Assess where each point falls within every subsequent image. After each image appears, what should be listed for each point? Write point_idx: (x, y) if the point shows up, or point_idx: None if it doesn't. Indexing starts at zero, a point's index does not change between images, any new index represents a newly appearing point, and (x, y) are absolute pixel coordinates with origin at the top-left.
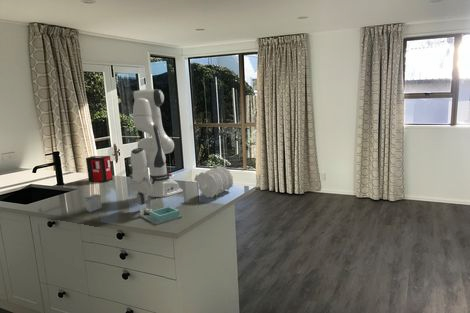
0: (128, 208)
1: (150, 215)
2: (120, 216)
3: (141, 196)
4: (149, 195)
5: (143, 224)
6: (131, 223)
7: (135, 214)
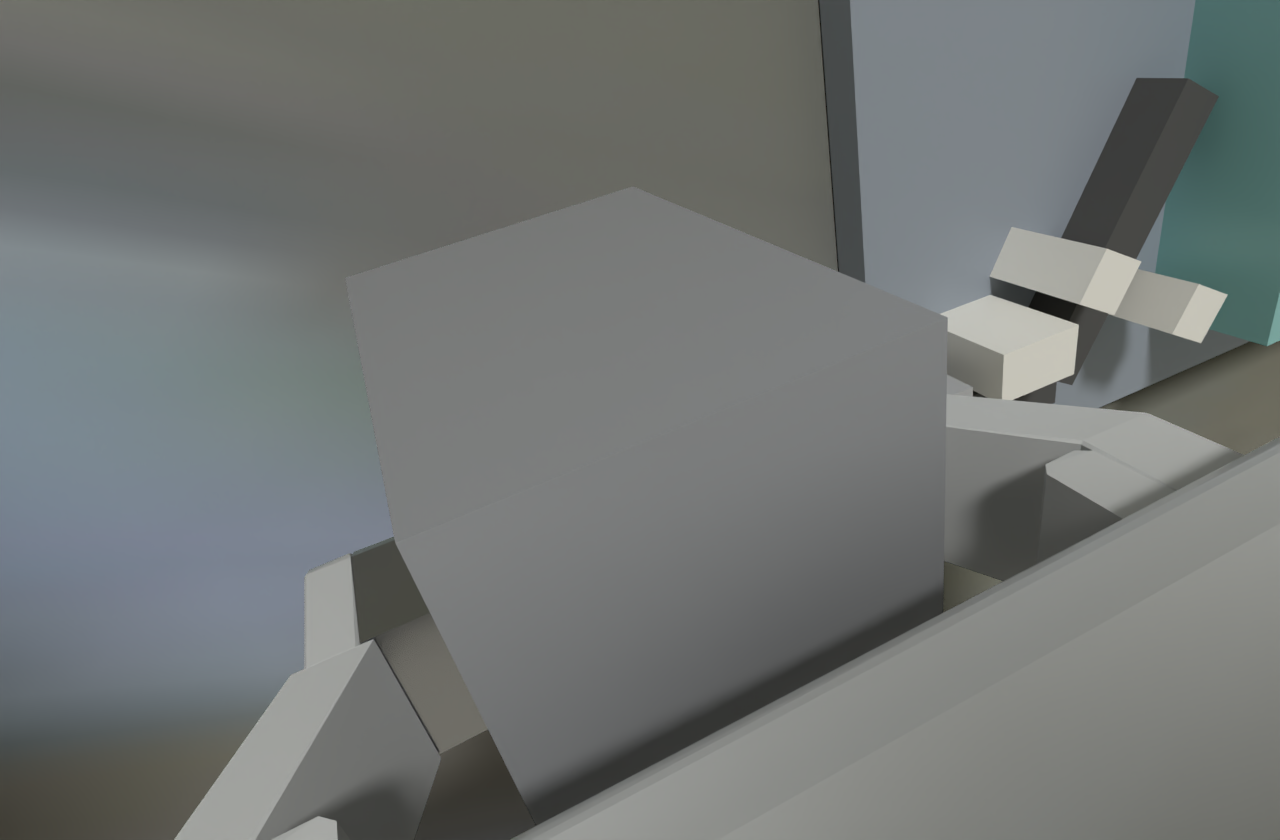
0: (77, 740)
1: None
2: None
3: None
4: (812, 261)
5: (1214, 435)
6: None
7: None
